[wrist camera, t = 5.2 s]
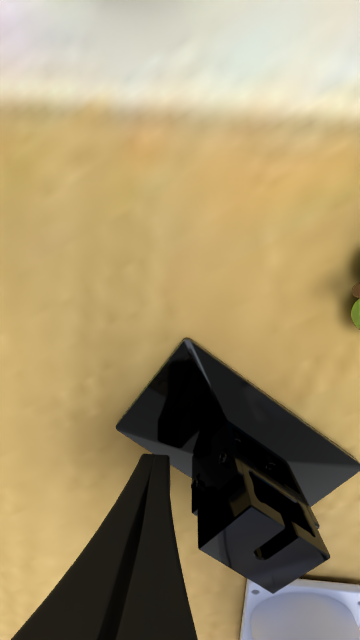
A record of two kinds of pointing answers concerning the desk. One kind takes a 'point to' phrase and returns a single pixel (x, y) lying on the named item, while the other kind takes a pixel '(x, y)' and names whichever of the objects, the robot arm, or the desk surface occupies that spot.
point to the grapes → (356, 306)
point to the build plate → (240, 465)
